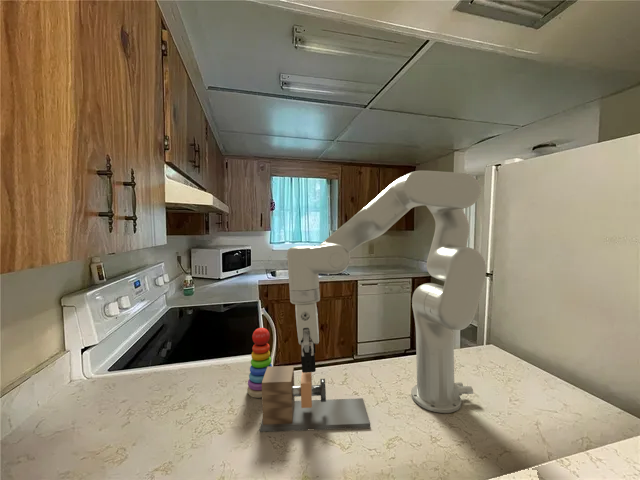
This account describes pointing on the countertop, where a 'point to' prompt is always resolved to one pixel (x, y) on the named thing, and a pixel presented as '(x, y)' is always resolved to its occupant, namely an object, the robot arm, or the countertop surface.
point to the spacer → (306, 390)
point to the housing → (290, 415)
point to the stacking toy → (259, 362)
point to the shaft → (312, 390)
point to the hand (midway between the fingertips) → (309, 362)
